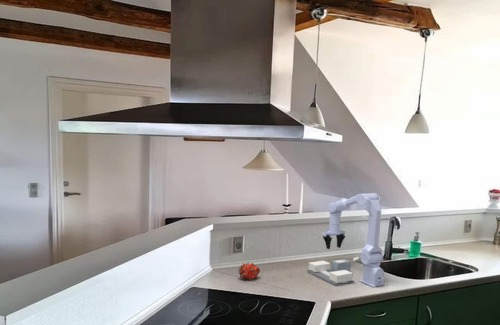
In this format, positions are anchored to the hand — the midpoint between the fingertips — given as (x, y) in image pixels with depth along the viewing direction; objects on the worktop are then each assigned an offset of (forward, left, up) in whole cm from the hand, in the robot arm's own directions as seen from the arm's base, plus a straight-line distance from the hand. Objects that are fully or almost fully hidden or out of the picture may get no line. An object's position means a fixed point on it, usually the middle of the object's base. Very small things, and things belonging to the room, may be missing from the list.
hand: (333, 248), depth 207 cm
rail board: (-14, +14, -10) cm, 22 cm away
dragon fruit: (0, +53, -10) cm, 54 cm away
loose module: (-10, +3, -10) cm, 15 cm away
